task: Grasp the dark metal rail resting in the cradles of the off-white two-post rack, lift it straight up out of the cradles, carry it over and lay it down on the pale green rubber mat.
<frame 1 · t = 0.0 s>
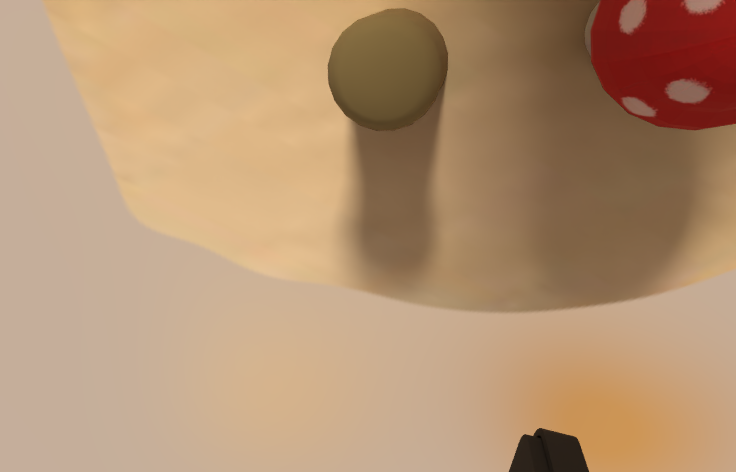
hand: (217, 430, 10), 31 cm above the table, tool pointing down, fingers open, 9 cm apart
decorative mushroom: (641, 24, 37), on the table
cork: (397, 61, 39), on the table
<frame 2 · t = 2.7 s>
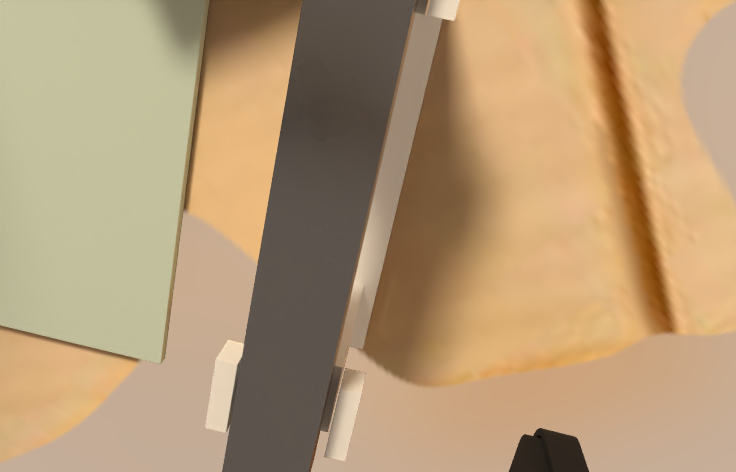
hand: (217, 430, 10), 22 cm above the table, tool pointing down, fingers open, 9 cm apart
mat: (92, 126, 32), on the table
rail: (329, 196, 23), point 9 cm above the table, touching rack
rack: (357, 147, 31), on the table
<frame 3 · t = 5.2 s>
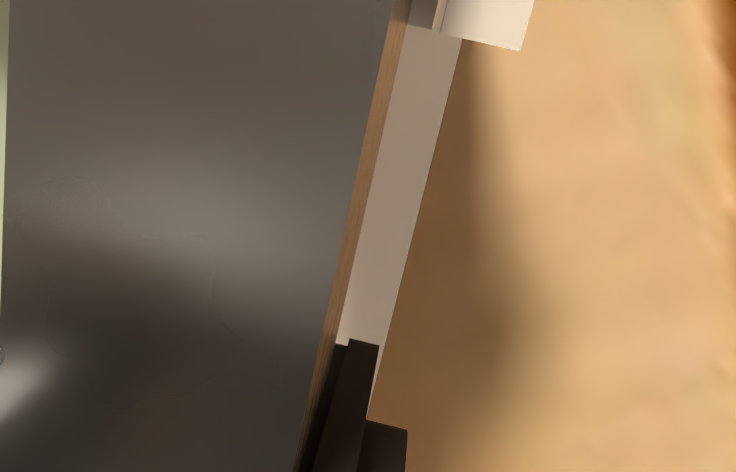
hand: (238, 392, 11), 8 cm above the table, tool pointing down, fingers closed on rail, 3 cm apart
rail: (213, 438, 10), point 9 cm above the table, touching gripper, rack
rack: (317, 247, 18), on the table
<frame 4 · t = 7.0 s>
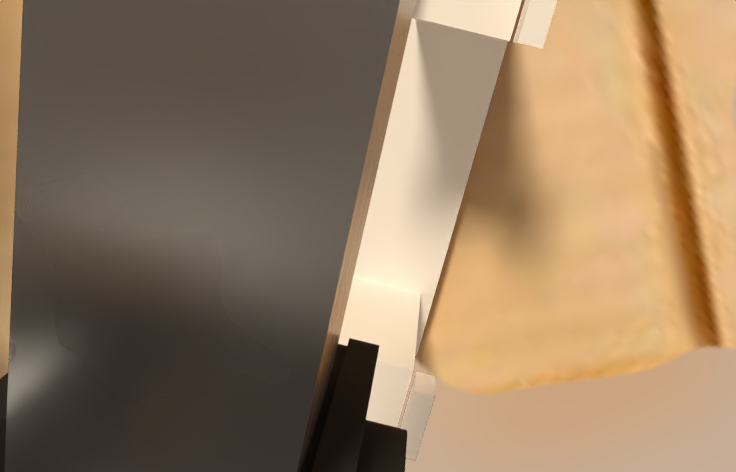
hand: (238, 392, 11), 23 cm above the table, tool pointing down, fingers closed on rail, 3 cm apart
rail: (217, 436, 10), point 24 cm above the table, touching gripper
rack: (419, 161, 32), on the table
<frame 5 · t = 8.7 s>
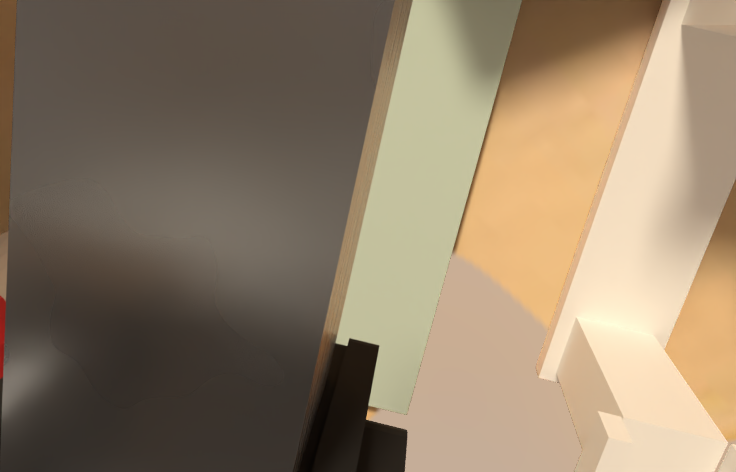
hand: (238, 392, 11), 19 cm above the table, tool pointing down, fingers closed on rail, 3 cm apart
decorative mushroom: (57, 267, 33), on the table
mat: (361, 161, 29), on the table
rail: (214, 438, 10), point 21 cm above the table, touching gripper
rack: (658, 186, 28), on the table
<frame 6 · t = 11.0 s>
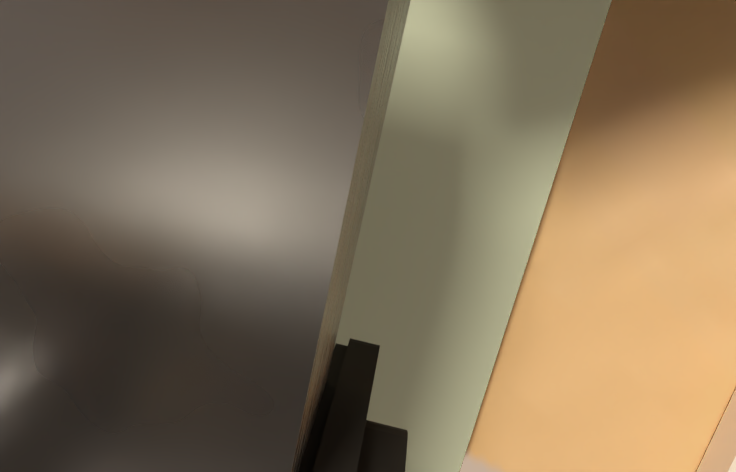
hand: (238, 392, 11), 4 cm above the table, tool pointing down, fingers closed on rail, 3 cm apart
mat: (284, 287, 15), on the table
rail: (216, 430, 10), point 5 cm above the table, touching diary, gripper
when the fingers open (2 cm above the table, at t = 12.4 s): rail stays where it is, resting on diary, mat.
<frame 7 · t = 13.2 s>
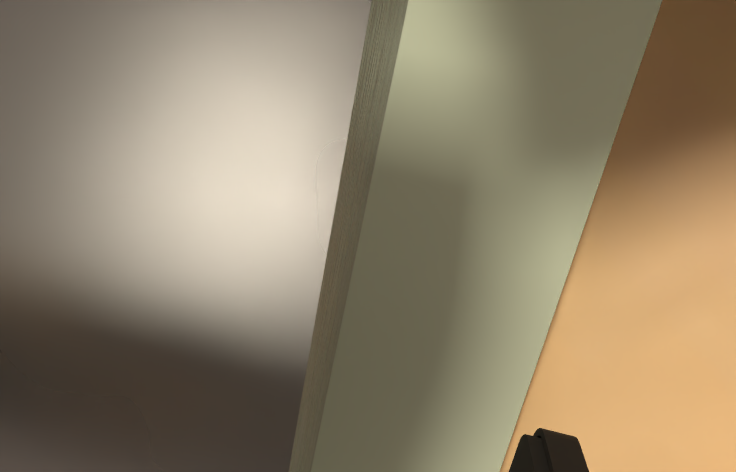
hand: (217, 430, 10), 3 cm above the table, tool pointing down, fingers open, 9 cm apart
mat: (263, 346, 13), on the table
rail: (211, 445, 9), point 3 cm above the table, tilted 15°, touching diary, mat
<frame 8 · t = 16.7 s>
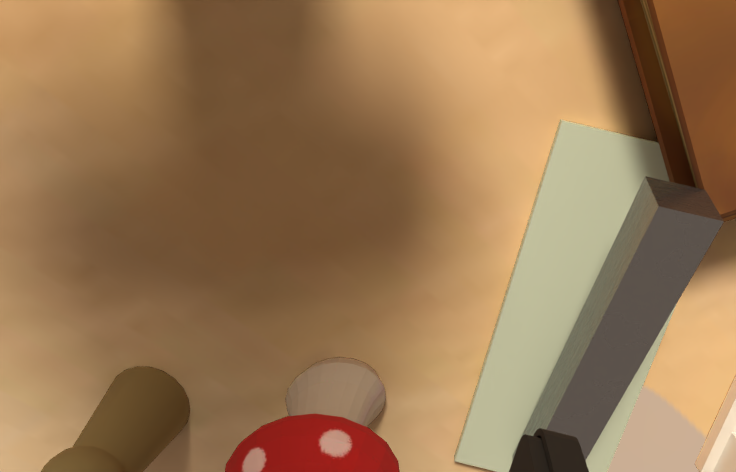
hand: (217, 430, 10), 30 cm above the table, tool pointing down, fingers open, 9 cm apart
decorative mushroom: (338, 386, 45), on the table
mat: (579, 322, 41), on the table
rail: (593, 344, 38), point 3 cm above the table, tilted 15°, touching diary, mat
cork: (150, 402, 47), on the table
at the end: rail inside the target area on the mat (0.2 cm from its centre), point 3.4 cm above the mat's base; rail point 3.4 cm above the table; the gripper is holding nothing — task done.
